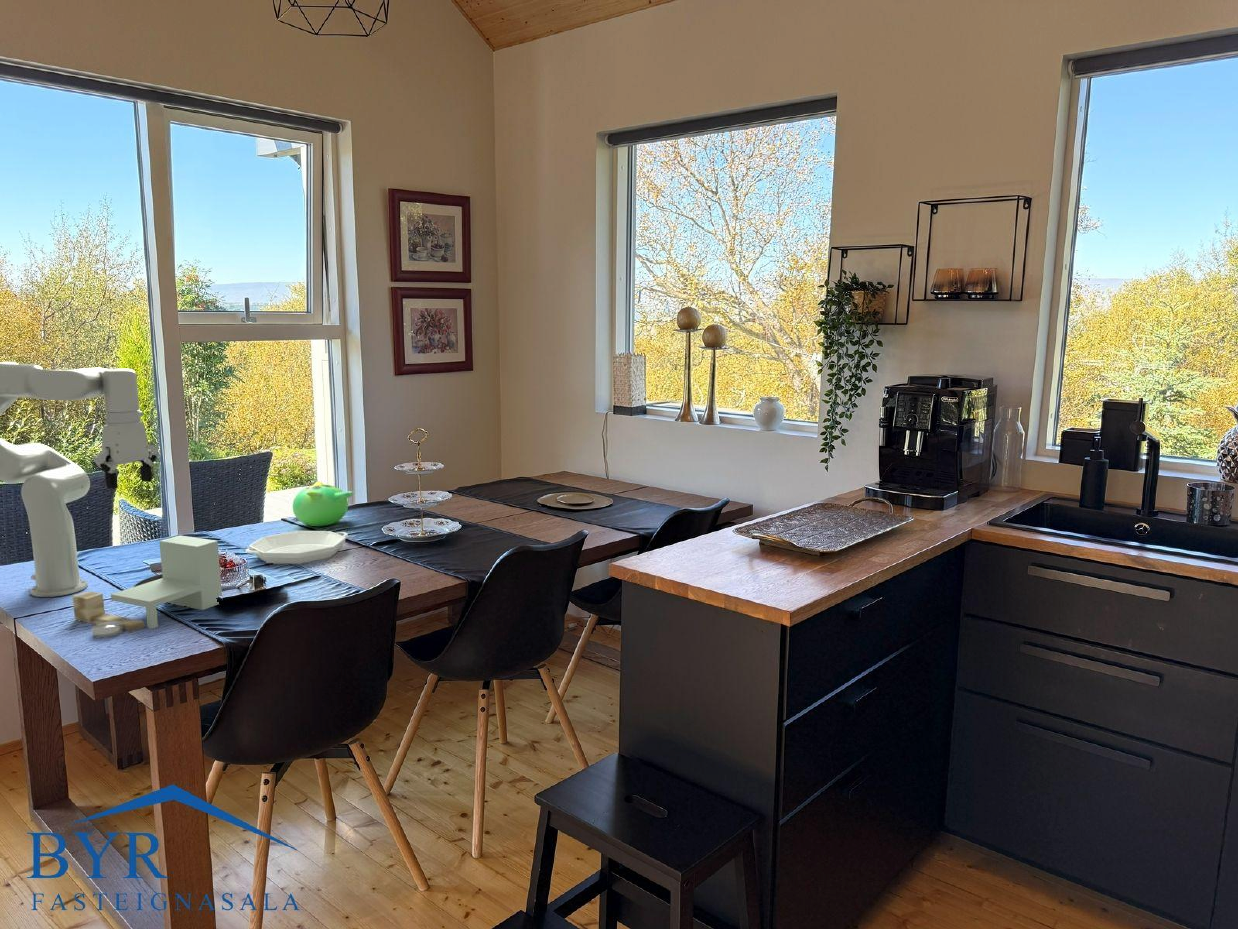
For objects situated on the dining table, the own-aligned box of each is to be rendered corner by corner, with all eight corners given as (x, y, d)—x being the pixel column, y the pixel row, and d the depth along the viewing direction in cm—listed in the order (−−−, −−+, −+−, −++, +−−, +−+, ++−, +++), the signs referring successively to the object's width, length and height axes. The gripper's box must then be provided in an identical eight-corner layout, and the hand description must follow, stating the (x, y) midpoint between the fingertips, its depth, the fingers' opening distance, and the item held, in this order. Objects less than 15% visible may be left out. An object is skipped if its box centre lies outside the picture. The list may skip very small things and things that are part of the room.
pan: (329, 538, 284) (328, 525, 283) (366, 554, 266) (366, 540, 265) (230, 556, 263) (229, 542, 262) (264, 574, 245) (263, 559, 244)
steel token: (86, 637, 198) (85, 628, 197) (109, 628, 203) (108, 620, 203) (107, 640, 196) (106, 631, 196) (129, 631, 202) (128, 622, 201)
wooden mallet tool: (75, 620, 208) (72, 596, 207) (91, 615, 211) (88, 591, 210) (130, 632, 200) (128, 607, 199) (146, 626, 204) (144, 601, 203)
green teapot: (338, 517, 312) (335, 476, 309) (358, 525, 299) (355, 483, 297) (287, 524, 300) (284, 482, 298) (305, 534, 288) (303, 490, 285)
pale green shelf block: (113, 620, 208) (106, 555, 205) (185, 596, 226) (180, 535, 223) (152, 628, 202) (145, 561, 200) (222, 602, 220) (217, 540, 218)
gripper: (143, 413, 231) (149, 477, 234) (80, 421, 215) (87, 489, 218) (163, 415, 228) (169, 480, 231) (101, 422, 212) (108, 492, 215)
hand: (129, 484), depth 224 cm, fingers open, 9 cm apart
